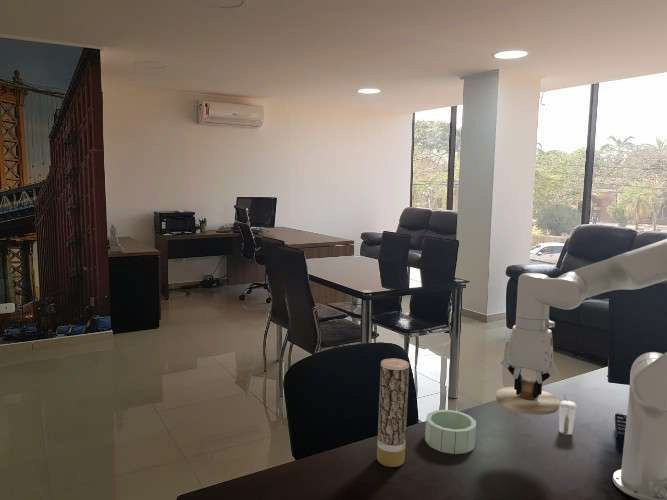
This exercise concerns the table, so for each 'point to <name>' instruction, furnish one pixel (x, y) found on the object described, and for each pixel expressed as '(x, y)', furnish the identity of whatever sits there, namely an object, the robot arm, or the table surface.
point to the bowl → (450, 431)
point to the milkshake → (566, 416)
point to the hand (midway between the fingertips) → (527, 394)
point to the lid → (527, 399)
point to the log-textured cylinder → (392, 412)
